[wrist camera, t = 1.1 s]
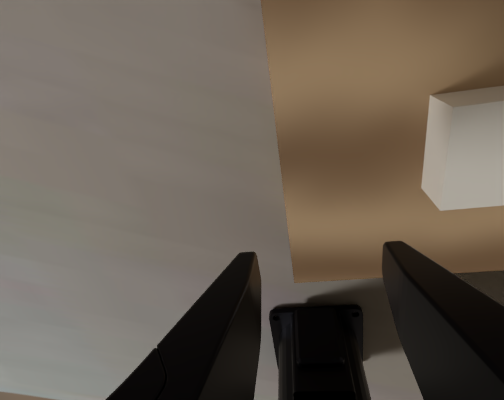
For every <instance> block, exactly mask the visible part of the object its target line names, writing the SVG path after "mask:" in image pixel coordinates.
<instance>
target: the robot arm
mask: <svg viewBox="0 0 504 400" xmlns="http://www.w3.org/2000/svg"><path fill="white" fill-rule="evenodd" d="M382 275H383V280H384V284H385V288H386V291H387V295H388V299H389V302H390V306H391V310H392V314H393V317H394V321H395V325H396V328H397V332H398V335H399V338H400V341H401V344H402V346H403V349H404V351H405V354H406V356H407V359H408V361H409V364H410V366H411V369H412V371H413V374H414V376H415V379H416V381H417V384H418V386H419V389H420V391H421V394H422V396H423V399H424V400H504V305H502V304H501V303H499V302H497V301H496V300H494V299H493V298H491V297H490V296H488V295H486V294H485V293H483V292H482V291H480V290H479V289H477V288H475V287H474V286H472V285H471V284H469V283H468V282H466V281H464V280H463V279H461V278H460V277H458V276H457V275H455V274H453V273H452V272H450V271H449V270H447V269H446V268H444V267H442V266H441V265H439V264H438V263H436V262H435V261H433V260H432V259H430V258H428V257H427V256H425V255H424V254H422V253H421V252H419V251H417V250H416V249H414V248H413V247H411V246H410V245H408V244H406V243H405V242H403V241H388V242H385V243H384V244H383V252H382ZM353 312H355V313H353ZM269 320H270V326H271V331H272V337H273V343H274V348H275V354H276V360H277V366H278V369H279V394H278V400H371V397H370V393H369V388H368V384H367V380H366V376H365V371H364V367H363V313H362V309H361V307H360V306H358V305H342V306H322V307H302V308H282V309H273V310H271V311H270V313H269ZM260 343H261V277H260V271H259V265H258V260H257V255H256V253H255V252H241V253H239V254H238V255H237V256H236V257H235V258H234V260H233V261H232V262H231V263H230V264H229V265H228V266H227V267H226V269H225V270H224V271H223V272H222V273H221V274H220V275H219V276H218V278H217V279H216V280H215V281H214V282H213V283H212V284H211V285H210V286H209V288H208V289H207V290H206V291H205V292H204V293H203V294H202V295H201V297H200V298H199V299H198V300H197V301H196V302H195V303H194V304H193V306H192V307H191V308H190V309H189V310H188V311H187V312H186V313H185V315H184V316H183V317H182V318H181V319H180V320H179V321H178V322H177V324H176V325H175V326H174V327H173V328H172V329H171V330H170V331H169V333H168V334H167V335H166V336H165V337H164V338H163V339H162V340H161V342H160V343H159V344H158V345H157V348H154V349H153V350H152V351H151V353H150V354H149V355H148V356H147V357H146V358H145V359H144V360H143V362H142V363H141V364H140V365H139V366H138V367H137V368H136V369H135V370H134V371H133V372H132V373H131V374H130V375H129V377H128V378H127V379H126V380H125V381H124V382H123V383H122V384H121V385H120V386H119V387H118V388H117V389H116V390H115V391H114V392H113V393H112V394H111V395H110V396H109V397H108V398H107V399H106V400H254V392H255V384H256V376H257V368H258V361H259V353H260Z"/></svg>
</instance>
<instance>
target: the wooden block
mask: <svg viewBox="0 0 504 400" xmlns="http://www.w3.org/2000/svg"><path fill="white" fill-rule="evenodd" d="M261 6H262V14H263V22H264V31H265V39H266V48H267V56H268V65H269V73H270V81H271V90H272V98H273V107H274V115H275V123H276V132H277V140H278V149H279V157H280V165H281V174H282V182H283V191H284V199H285V208H286V216H287V224H288V233H289V241H290V250H291V258H292V266H293V275H294V283H302V282H319V281H335V280H352V279H368V278H383V275H382V252H383V244H384V243H385V242H388V241H403V242H405V243H406V244H408V245H410V246H411V247H413V248H414V249H416V250H417V251H419V252H421V253H422V254H424V255H425V256H427V257H428V258H430V259H432V260H433V261H435V262H436V263H438V264H439V265H441V266H442V267H444V268H446V269H447V270H449V271H450V272H452V273H467V272H484V271H500V270H504V205H503V206H491V207H479V208H468V209H456V210H444V211H440V210H439V209H438V208H437V206H436V205H435V204H434V203H433V202H432V200H431V199H430V198H429V197H428V196H427V194H426V193H425V192H424V191H423V189H422V188H421V185H422V175H423V164H424V153H425V143H426V132H427V121H428V110H429V100H430V95H435V94H442V93H450V92H458V91H465V90H473V89H481V88H488V87H496V86H504V0H261Z"/></svg>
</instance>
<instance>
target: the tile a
mask: <svg viewBox="0 0 504 400" xmlns="http://www.w3.org/2000/svg"><path fill="white" fill-rule="evenodd" d="M421 188H422V189H423V191H424V192H425V193H426V194H427V196H428V197H429V198H430V199H431V200H432V202H433V203H434V204H435V205H436V206H437V208H438V209H439V210H440V211H444V210H456V209H468V208H479V207H491V206H503V205H504V86H496V87H488V88H481V89H473V90H465V91H458V92H450V93H442V94H435V95H430V100H429V110H428V121H427V132H426V143H425V153H424V164H423V175H422V185H421Z"/></svg>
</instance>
